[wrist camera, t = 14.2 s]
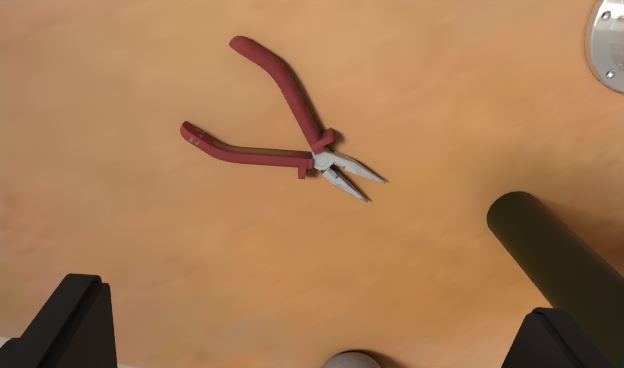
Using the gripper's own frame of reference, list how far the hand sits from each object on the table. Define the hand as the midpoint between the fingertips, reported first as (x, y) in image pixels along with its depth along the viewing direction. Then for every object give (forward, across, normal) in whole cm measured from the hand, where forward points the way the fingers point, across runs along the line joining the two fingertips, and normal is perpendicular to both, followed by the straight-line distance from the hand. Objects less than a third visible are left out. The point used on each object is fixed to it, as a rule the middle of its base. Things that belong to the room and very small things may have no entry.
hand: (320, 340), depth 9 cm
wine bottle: (+32, -26, +13) cm, 44 cm away
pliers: (+33, +1, +8) cm, 34 cm away
